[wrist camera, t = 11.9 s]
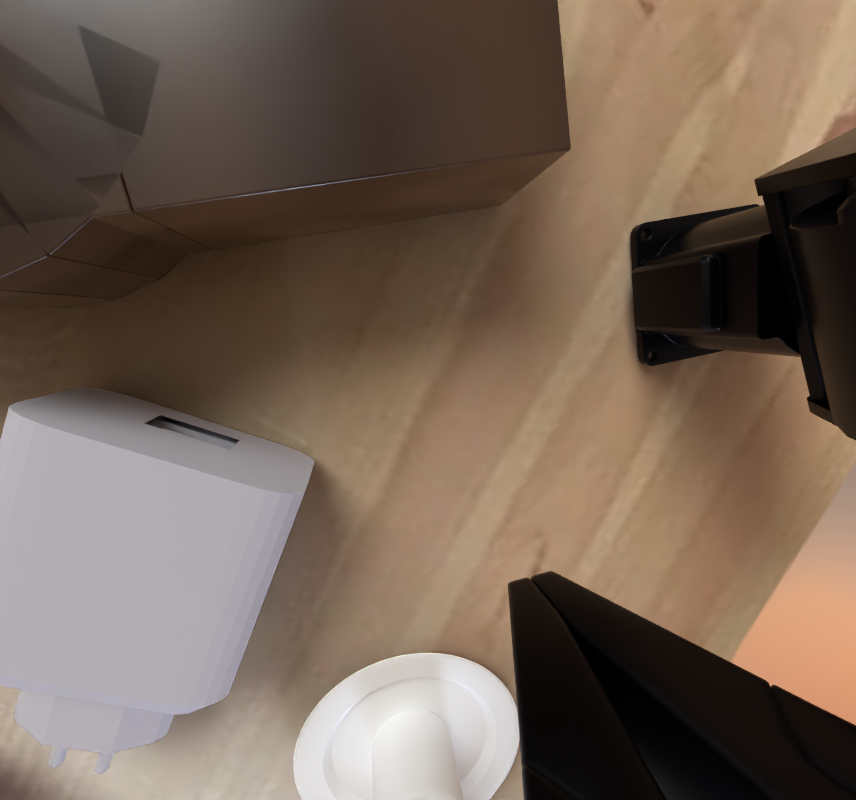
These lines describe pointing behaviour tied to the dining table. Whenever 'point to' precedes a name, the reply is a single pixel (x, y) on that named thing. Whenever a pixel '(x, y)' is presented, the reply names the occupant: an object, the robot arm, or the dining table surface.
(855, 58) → the dining table surface
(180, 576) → the charger
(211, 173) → the wooden desk organizer
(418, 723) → the candle holder
